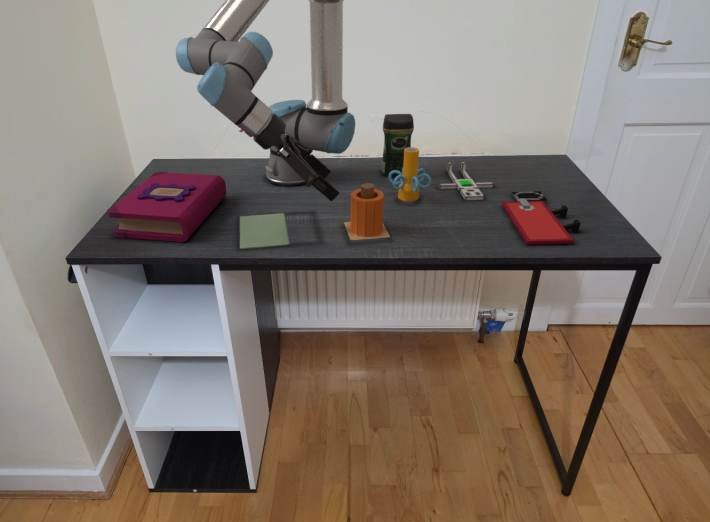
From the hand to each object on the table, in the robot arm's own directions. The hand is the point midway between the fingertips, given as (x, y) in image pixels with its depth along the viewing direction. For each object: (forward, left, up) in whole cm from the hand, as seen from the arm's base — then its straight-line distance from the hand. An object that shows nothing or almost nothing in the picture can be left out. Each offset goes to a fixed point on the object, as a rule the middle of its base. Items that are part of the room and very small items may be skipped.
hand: (331, 185), depth 124 cm
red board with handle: (-1, +56, -14) cm, 58 cm away
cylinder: (-18, +25, -14) cm, 34 cm away
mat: (-6, -13, -14) cm, 20 cm away
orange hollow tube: (0, +9, -12) cm, 15 cm away
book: (-19, -41, -14) cm, 47 cm away
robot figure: (-26, +45, -14) cm, 54 cm away
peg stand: (0, +9, -14) cm, 16 cm away
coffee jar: (-40, +27, -14) cm, 50 cm away
